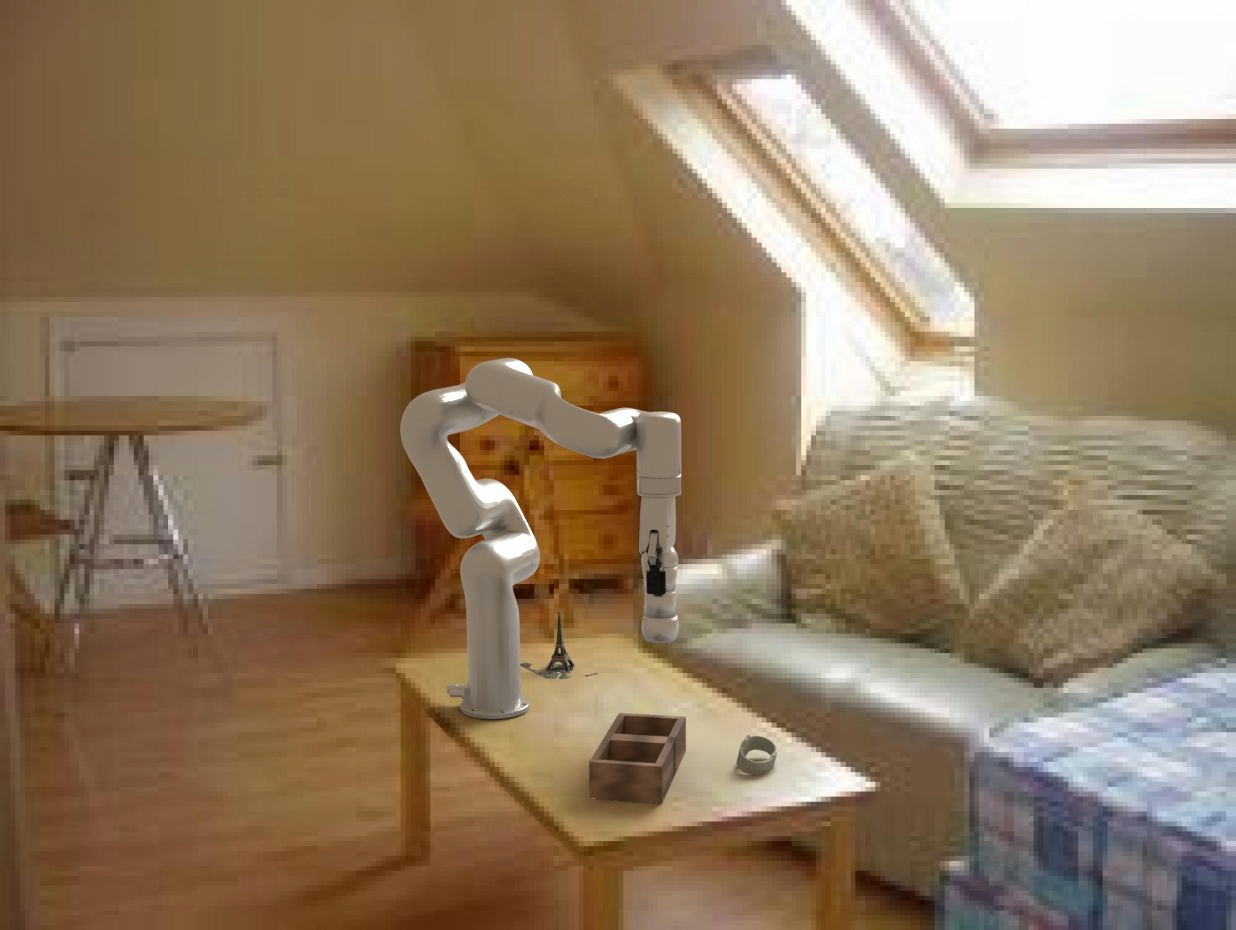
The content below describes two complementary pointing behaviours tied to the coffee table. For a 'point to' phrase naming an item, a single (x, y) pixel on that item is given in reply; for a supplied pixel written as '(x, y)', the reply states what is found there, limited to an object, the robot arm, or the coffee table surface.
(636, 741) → the bottle rack
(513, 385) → the robot arm
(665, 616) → the plastic bottle
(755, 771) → the wristwatch
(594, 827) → the coffee table surface
